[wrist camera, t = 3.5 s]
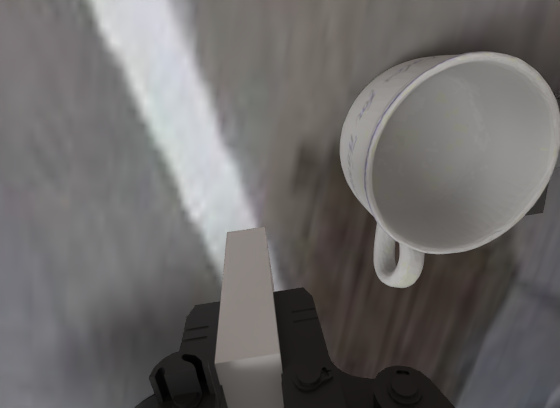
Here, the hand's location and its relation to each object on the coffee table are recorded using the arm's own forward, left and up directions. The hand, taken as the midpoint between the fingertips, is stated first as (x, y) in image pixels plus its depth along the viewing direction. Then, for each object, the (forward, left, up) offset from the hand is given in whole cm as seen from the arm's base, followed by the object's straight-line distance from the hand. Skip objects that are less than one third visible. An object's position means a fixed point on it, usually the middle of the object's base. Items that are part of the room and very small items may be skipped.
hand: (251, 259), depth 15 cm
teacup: (+11, 0, -12) cm, 16 cm away
